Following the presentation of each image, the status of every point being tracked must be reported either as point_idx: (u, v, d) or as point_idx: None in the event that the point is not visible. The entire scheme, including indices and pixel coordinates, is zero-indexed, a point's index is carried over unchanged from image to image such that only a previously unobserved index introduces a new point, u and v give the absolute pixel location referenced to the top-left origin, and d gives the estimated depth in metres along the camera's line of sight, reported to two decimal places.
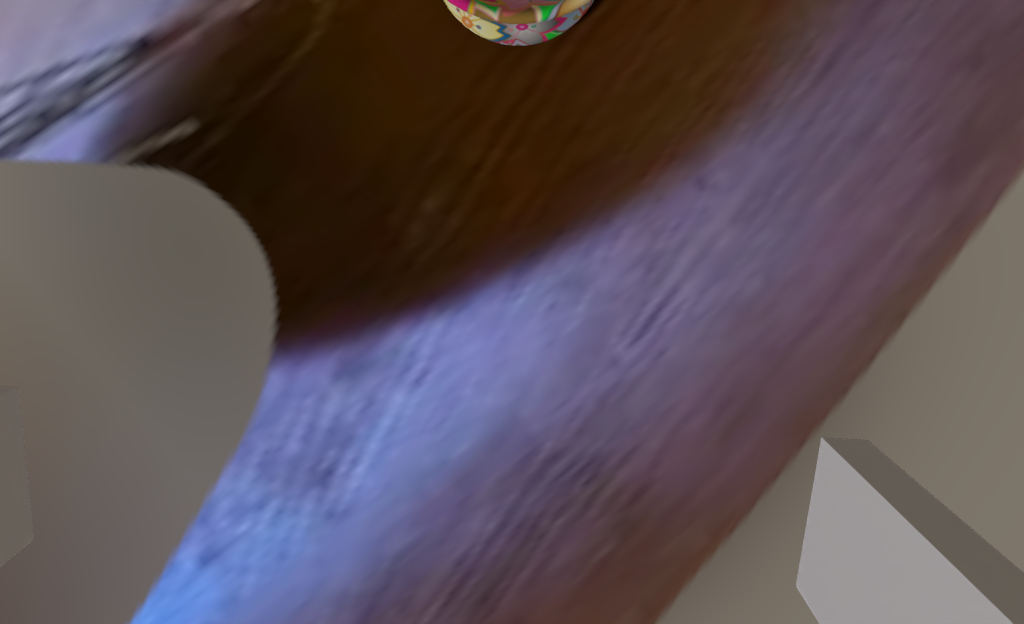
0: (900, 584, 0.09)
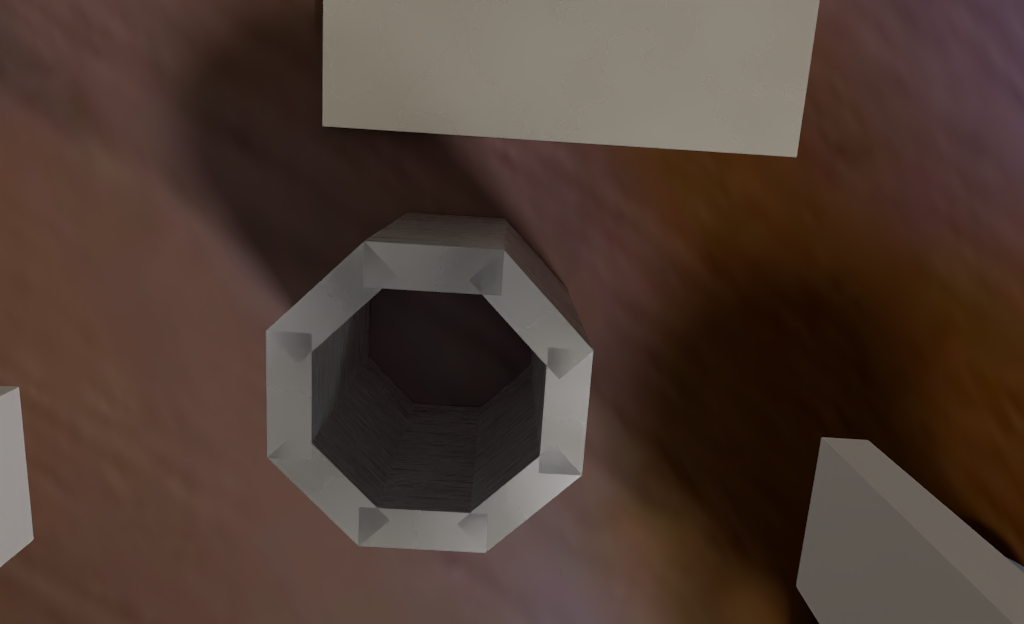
0: (901, 584, 0.09)
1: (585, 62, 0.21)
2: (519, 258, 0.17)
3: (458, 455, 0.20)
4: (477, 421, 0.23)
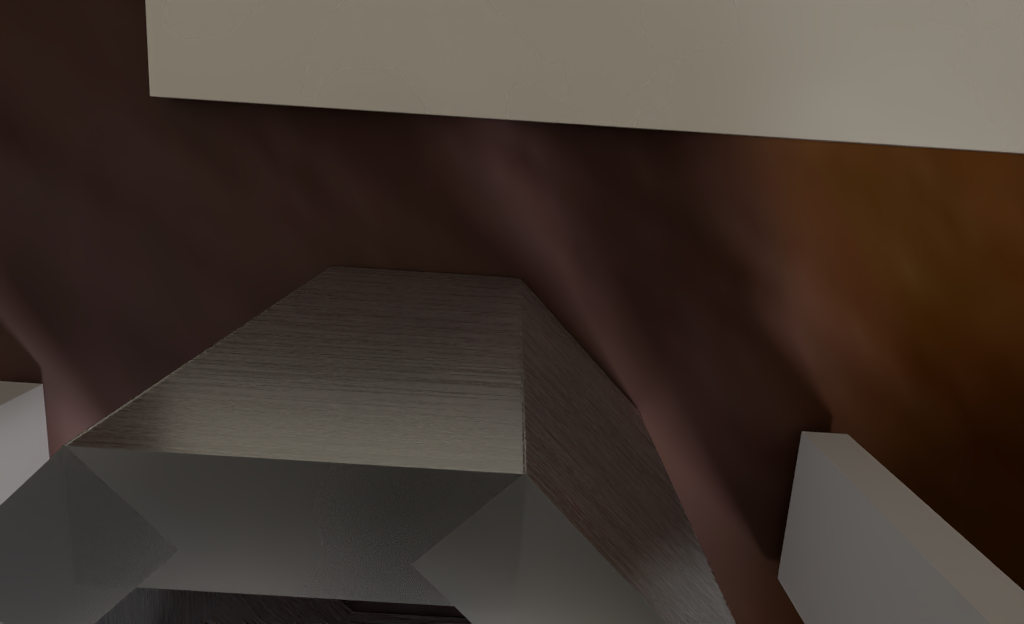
0: (873, 574, 0.09)
1: None
2: (564, 441, 0.06)
3: None
4: None
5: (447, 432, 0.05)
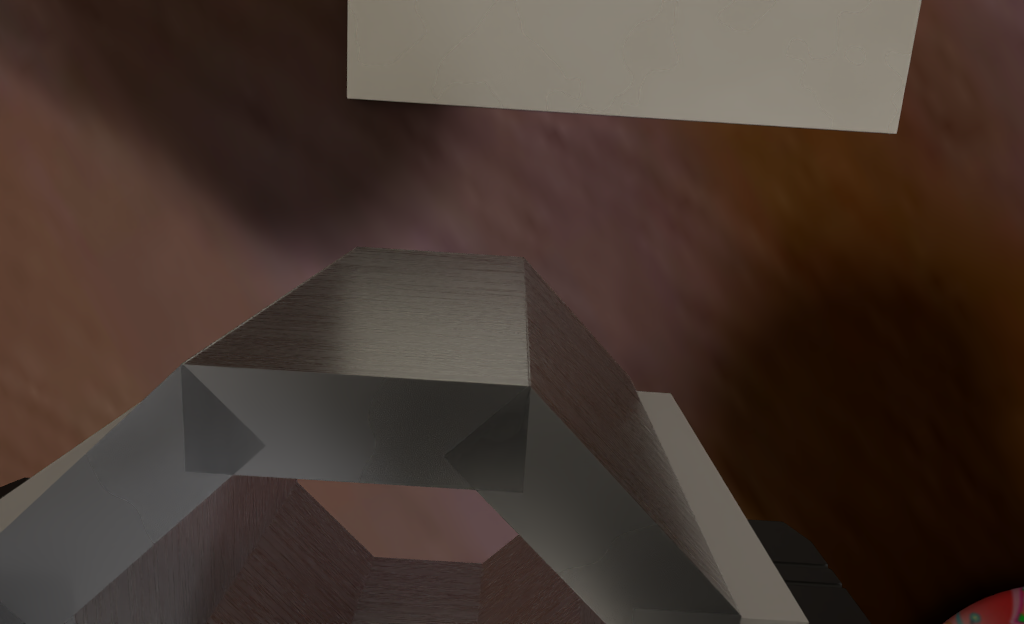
0: None
1: (650, 22, 0.18)
2: (561, 376, 0.08)
3: None
4: (475, 601, 0.13)
5: (469, 360, 0.07)
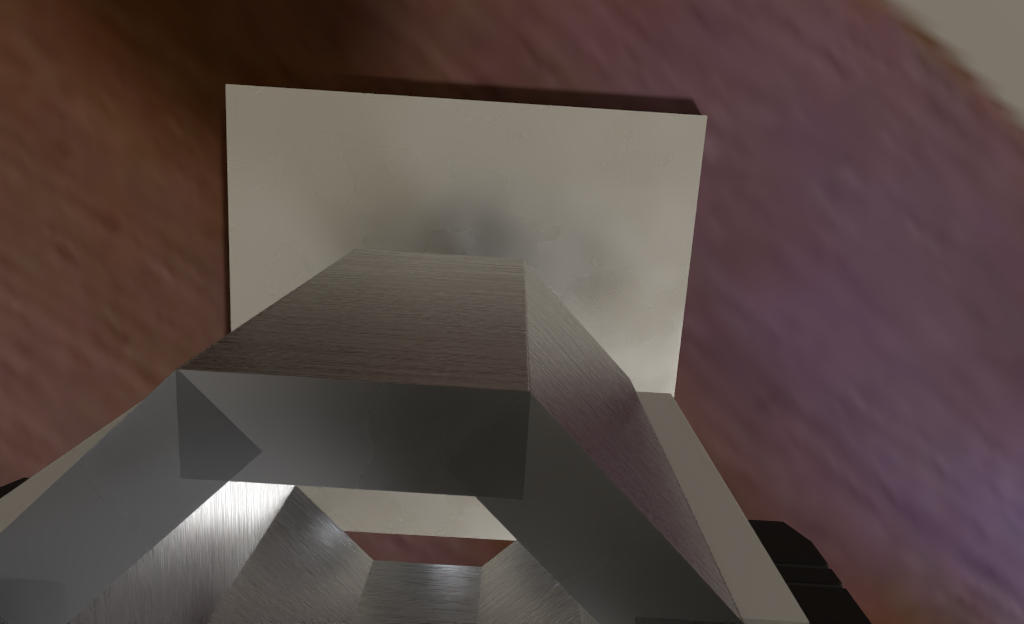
0: None
1: None
2: (561, 380, 0.08)
3: None
4: (474, 605, 0.13)
5: (468, 365, 0.07)
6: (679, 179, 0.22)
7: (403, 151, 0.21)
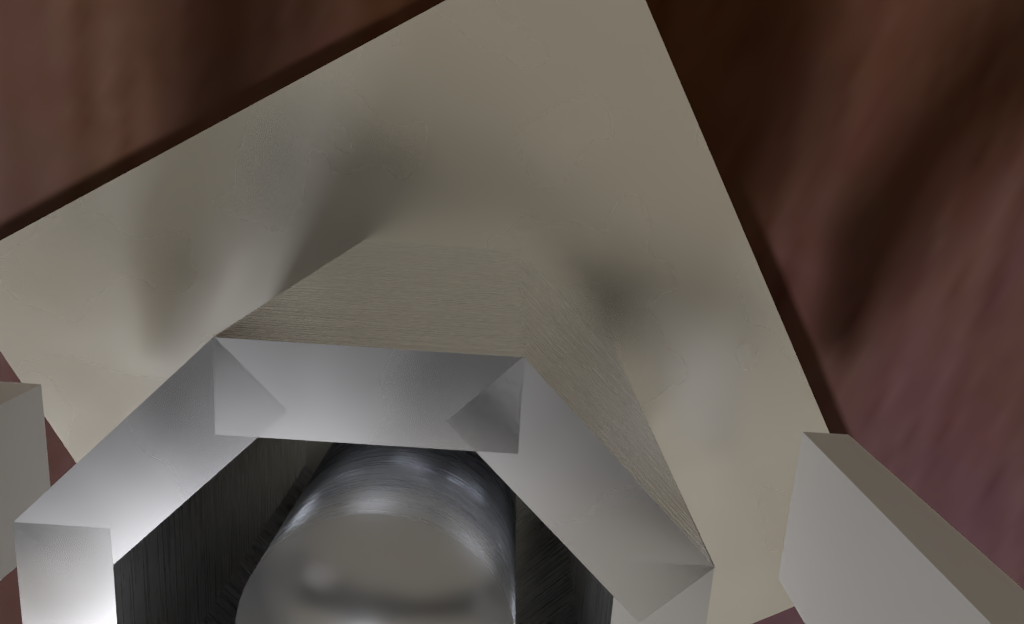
0: (876, 575, 0.09)
1: None
2: (553, 354, 0.09)
3: None
4: None
5: (469, 336, 0.08)
6: None
7: (647, 225, 0.14)
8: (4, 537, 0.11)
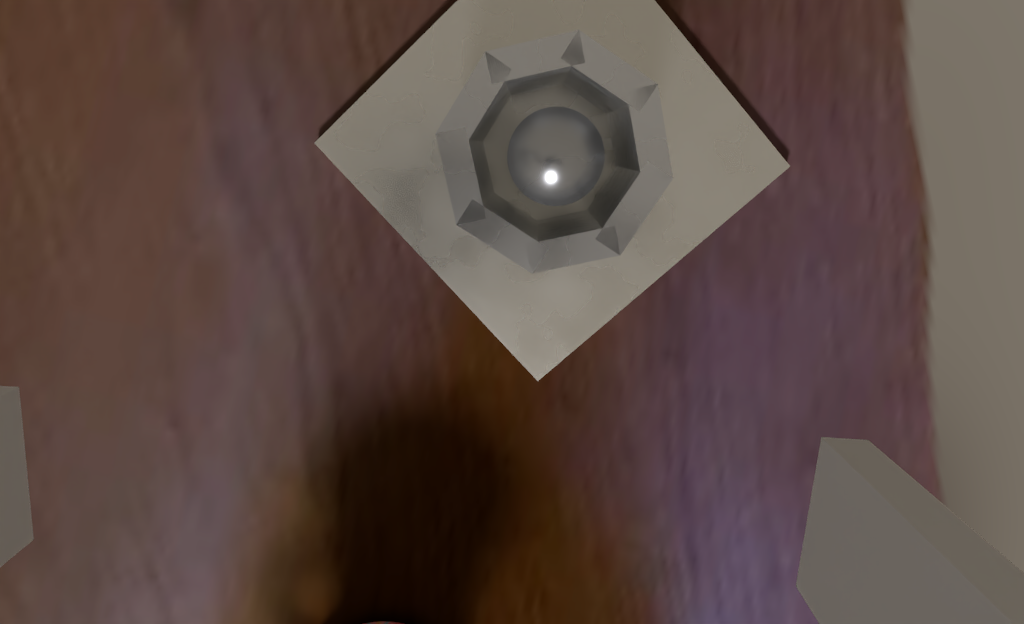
0: (900, 585, 0.09)
1: (476, 240, 0.31)
2: None
3: (581, 221, 0.27)
4: (587, 212, 0.29)
5: None
6: (745, 186, 0.30)
7: (622, 27, 0.29)
8: None
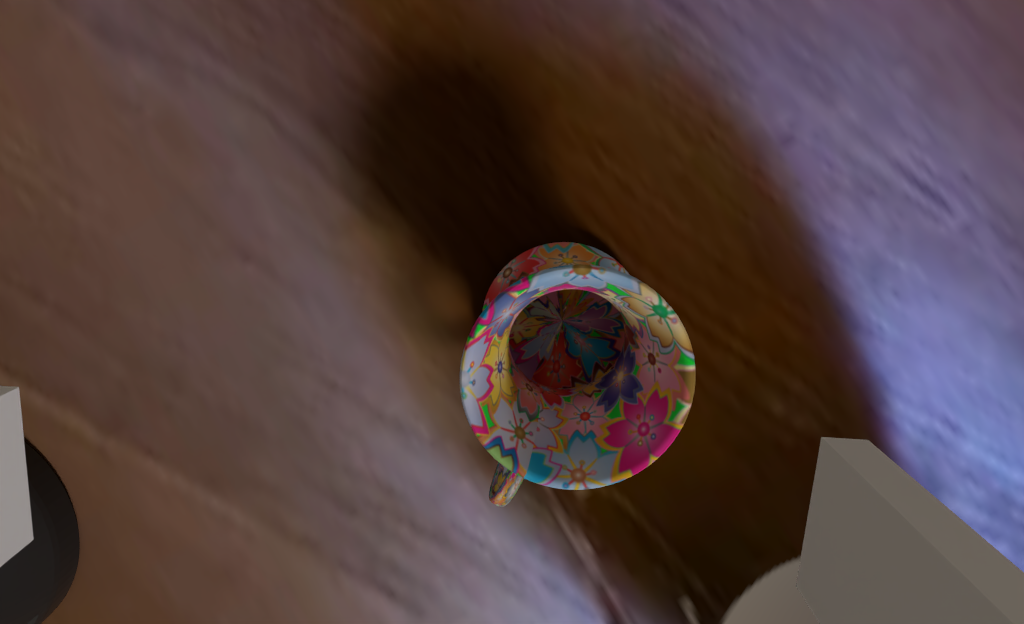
0: (900, 585, 0.09)
1: None
2: None
3: None
4: None
5: None
6: None
7: None
8: None
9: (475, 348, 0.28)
